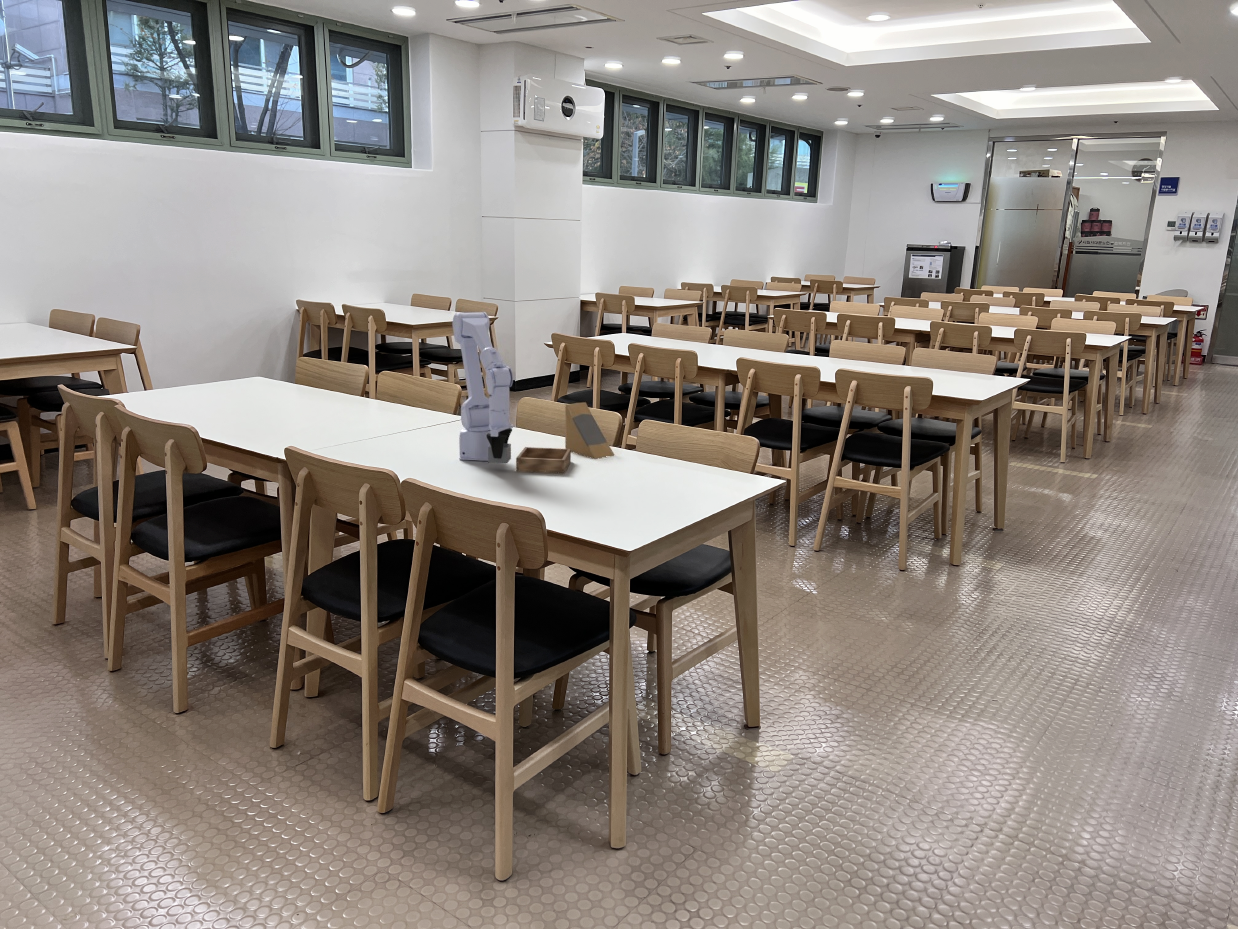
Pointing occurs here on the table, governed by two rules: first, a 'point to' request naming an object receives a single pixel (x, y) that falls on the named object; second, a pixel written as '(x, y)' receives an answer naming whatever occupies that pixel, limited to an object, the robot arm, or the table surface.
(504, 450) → the small crate
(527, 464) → the large crate
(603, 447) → the sandwich container
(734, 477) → the table surface
